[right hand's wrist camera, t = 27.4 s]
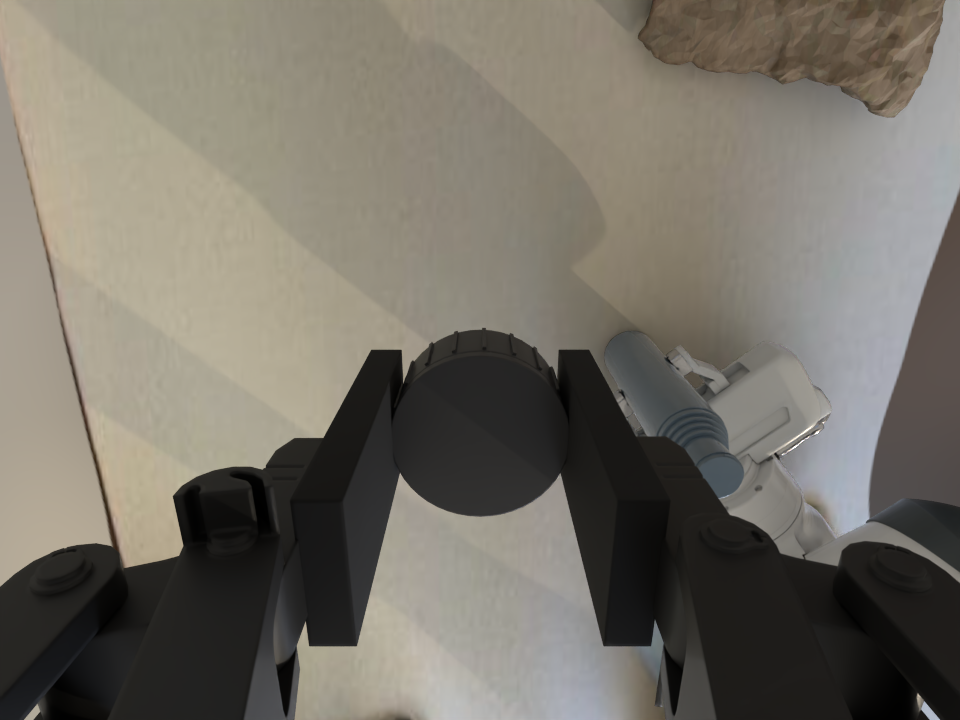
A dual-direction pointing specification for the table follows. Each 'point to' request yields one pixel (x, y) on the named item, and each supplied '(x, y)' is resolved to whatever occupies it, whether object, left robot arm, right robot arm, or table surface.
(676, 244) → the table surface
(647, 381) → the bottle
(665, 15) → the stone
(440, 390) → the cap
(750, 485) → the left robot arm
